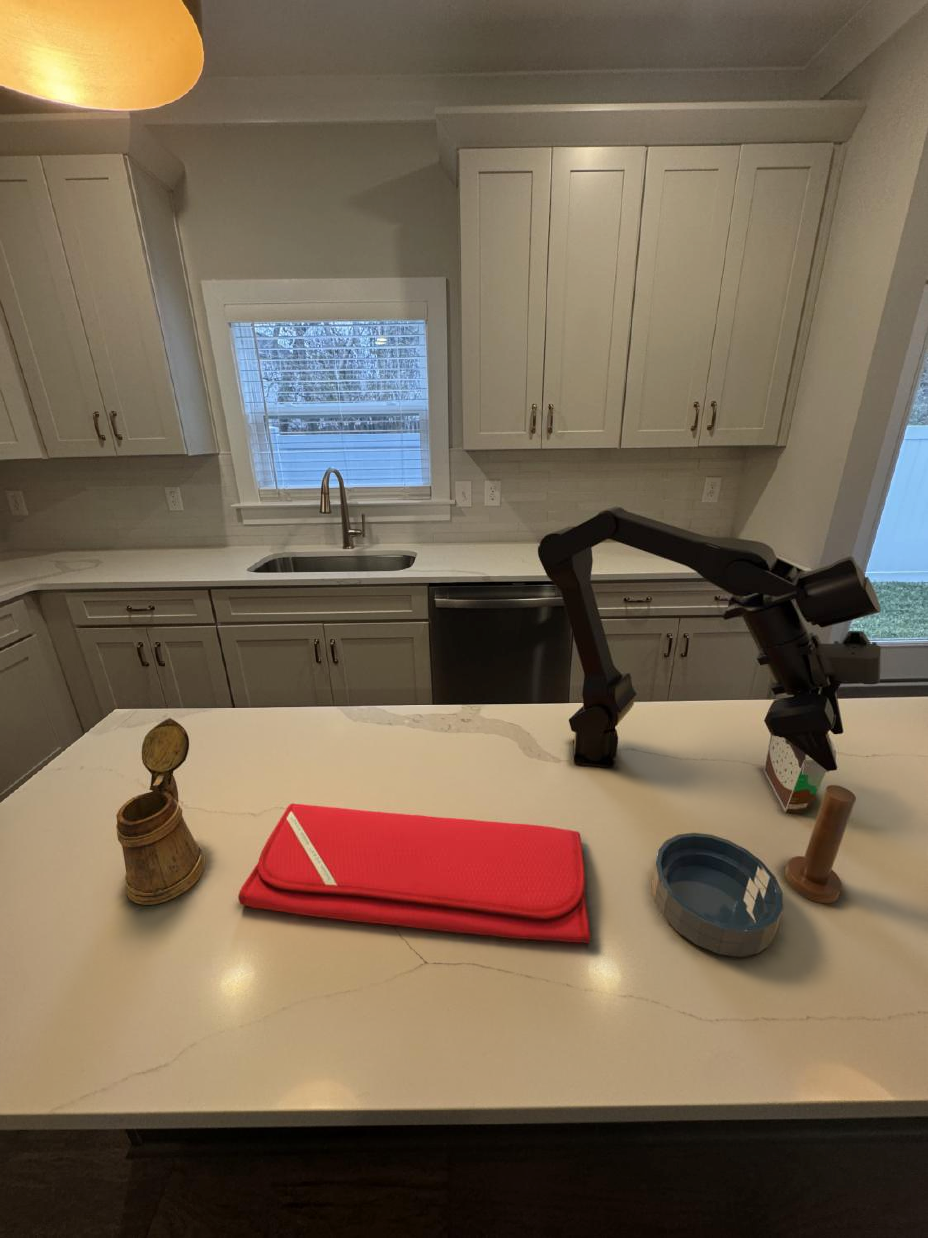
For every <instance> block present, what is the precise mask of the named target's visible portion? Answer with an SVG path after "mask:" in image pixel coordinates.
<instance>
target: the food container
mask: <svg viewBox="0 0 928 1238" xmlns="http://www.w3.org/2000/svg"><path fill="white" fill-rule="evenodd" d="M830 741H831V745H832V749H833V752H834V756H835V760H836V761H837V751H836V747H835V744H834V742H833V741H832V739H831V738H830ZM763 772H764V774H765V776H766V778H767V780H768V782H769V783H770V786H771V787H772V789H773V792H774V793H775V795H776V797H777V799H778V801H779V803H780V805H781V807H782V809H783V810H784V812H785V813H787V814H788V813H789V814H795V813H796V814H797V813H802V812H805V811H807V810H808V809H810V808H811V806H812V804H813V802H814V799H815V798H816V795H817V793H818V791H819V788H820V786H821V784H822V783H823V780H824V778H825V775H826V774H827V773H830V771H827V770H825V769H824V768H823V767H821V766H820V765H819V764H818V763H816V762H815V761H814V760H813V759H811V758H810V757H809V756H808V755H806V754H805V753H804V752H803V751H801V750H800V749H799V748H797V747H796V746H795V745H793V744H792V743H790V742H789V741H787V740H786V739H785V738H783V737H782V738H780V737H778V736H773V735H771V734H770V738H769V743H768V747H767V753H766V758H765V763H764V767H763Z"/></svg>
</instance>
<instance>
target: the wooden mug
mask: <svg viewBox="0 0 928 1238" xmlns="http://www.w3.org/2000/svg"><path fill="white" fill-rule="evenodd" d="M189 750H190V737H189V734H188V732H187V730H186V729H185V727H184V726H182V725H181V724H180V723H179V722H177V721H176V720H175V719H173V718H171V717H168V718H166V719H165V720H163V721H161V722H160V723H158V724H157V725H155V726H154V727H153V728H151V729H150V730H149V731H148V732H147V734H146V735H145V736H144V739H143V742H142V745H141V760H142V764H143V766H144V767H145V769H146V770H147V771H148V772H149V773H150V774H151V776H150V777H151V778H150V785H149V791H148V792H145V793H142V794H139V795H136V796H133V797H131V798H130V799H129V800H127V801H126V802H125V803H124V804H123V805H122V806H121V807H120V808H119V809H118V811H117V813H116V815H115V816H116V824H115V830H116V837H117V841H118V842H119V844H120V845H121V849H122V855H123V861H124V862H123V863H124V867H125V876H124V882H125V893H126V895H127V897H128V899H129V900H130V901H131V902H133V903H134V904H135V903H136V904H138V905H143V906H147V905H158V904H162V903H166V902H168V901H170V900H172V899H174V898H177V897H178V896H181V895H182V894H184V893H185V892H187V891H188V890H189V889H190V888H192V887H193V886H194V885H195V884H196V883H197V881H198V880H199V879H200V877H201V875H202V874H203V871H204V869H205V866H206V856H205V853H204V851H203V849H202V847H201V845H200V844H199V843H198V841H196V840H195V838H194V836H193V834H192V831H190V829H189V826H188V825H187V823H186V821H185V819H184V816H183V809H182V807H181V805H180V803H179V791H178V785H177V781H176V778H175V776H174V771H176V770H178V769H179V768H180V767H181V766H182V765H183V763H185V761H186V759H187V757H188V754H189Z"/></svg>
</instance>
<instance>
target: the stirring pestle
mask: <svg viewBox="0 0 928 1238" xmlns="http://www.w3.org/2000/svg"><path fill="white" fill-rule="evenodd" d="M856 800H857V797H856V794H854V792H853V791H851V790H850V789H848V788H846V787H843V786H842V785H841V786H840V785H837V784H831V785H827V786H826V787H825V791H824V793H823V796H822V800H821V803H820V806H819V808H818V812H817V814H816V815H817V816H816V819H815V822H814V826H813V829H812V832H811V833H810V838H809V841H808V843H807V847H806V850H805V853H804V856H802V855H801V856H800V855H799V856H794V857H791V858H790V859H789V860H788V861H787V864H786V868H785V870H784V877H785V879H786V881H787V883H788V885H789V886H790V887H791V888H792V889H793V890H794V891H795V892H796V893H797V894H799V895H800V896H802V897H804V898H806V899H808V900H810V901H812V902H815V903H820V904H831V903H834V902H835V901H837V900H838V899H839V896H840V894H841V891H842V887H843V886H842V885H843V884H842V881H841V879H840V877H839V875H838V874H837V872H835V871H834V870H833V867H834V864H835V861H836V858H837V855H838V852H839V850H840V846H841V843H842V840H843V838H844V836H845V832H846V829H847V826H848V824H849V821H850V818H851V815H852V811H853V809H854V806H855V803H856Z"/></svg>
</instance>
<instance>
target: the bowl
mask: <svg viewBox="0 0 928 1238" xmlns="http://www.w3.org/2000/svg"><path fill="white" fill-rule="evenodd" d="M654 862H655V864H654V870H653V875H652V880H651V889H652V895H653V899H654V900H653V901H654V902H655V904H656V906H657V908H658V910H659V911H660V914H661V915H662V917H663V918H664V919H665V921H667V922H668V923H669V924H670V925H671V927H673V929H675V931H676V932H677V933H679V934H680V935H681V936H683V937H684V938H686V939H687V940H689V941H690V942H692V943H693V944H694V945H696V946H697V947H700V948H703V949H705V950H707V951H711V952H713V953H715V954H718V955H723V956H731V957H737V958H738V957H739V958H740V957H741V958H742V957H746V956H754V955H757V954H759V953H760V952H762V951H763V950H765V949H767V948H768V947H769V946H770V945H771V944H772V942H773V939H774V937H775V935H776V933H777V930H778V928H779V924H780V920H781V918H782V915H783V911H784V894H783V890H782V888H781V886H780V884H779V882H778V880H777V878H776V876H775V875H774V874H773V872H772V871H771V870H770V869H769V868H768V867H767V865H766V864H765V863H764V861H762V860H760V858H758V857H757V856H755V855H754V853H752V852H750V851H749V850H748V849H746V848H745V847H742V846H741V845H738V844H737V843H735V842H733V841H731V840H730V839H727V838H724V837H721V836H716V835H713V834H709V833H701V832H688V833H681V834H676V835H675V836H673V837H670V838H668V839H667V840H665V841H664V842H663V844H661V846H660V847H659V848H658V850H657V853H656V859H655V861H654Z"/></svg>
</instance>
